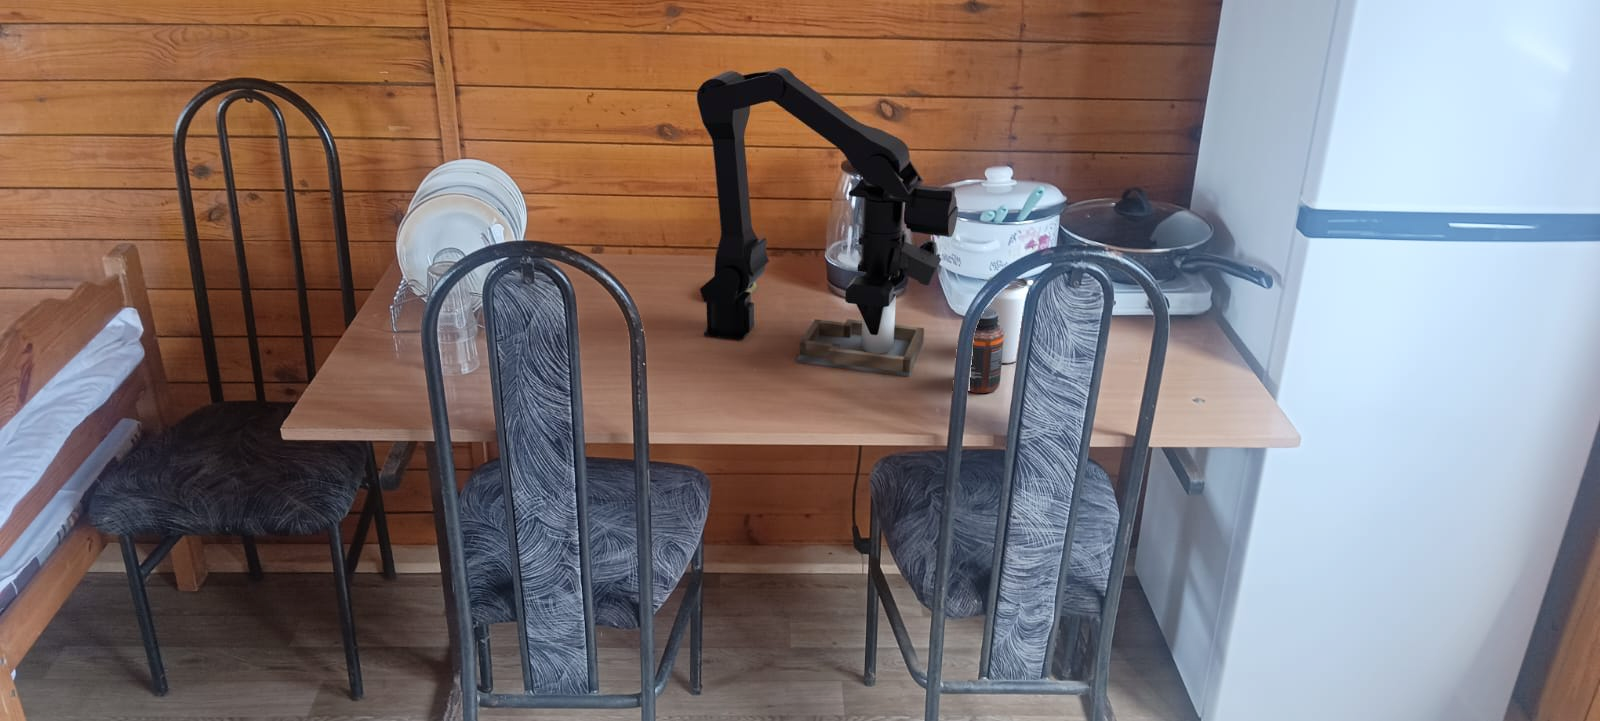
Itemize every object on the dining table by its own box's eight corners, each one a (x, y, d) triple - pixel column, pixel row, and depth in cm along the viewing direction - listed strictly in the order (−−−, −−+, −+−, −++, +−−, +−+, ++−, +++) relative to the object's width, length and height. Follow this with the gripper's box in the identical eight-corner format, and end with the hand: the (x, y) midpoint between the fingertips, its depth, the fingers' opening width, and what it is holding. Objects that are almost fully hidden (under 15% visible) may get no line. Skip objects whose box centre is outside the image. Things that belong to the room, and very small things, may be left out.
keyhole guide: (796, 362, 170) (797, 346, 169) (817, 330, 180) (817, 315, 179) (909, 376, 166) (910, 360, 165) (923, 343, 177) (924, 328, 175)
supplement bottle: (1003, 380, 165) (1010, 307, 161) (995, 397, 160) (1002, 323, 156) (962, 373, 167) (967, 301, 162) (953, 391, 162) (958, 317, 157)
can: (1022, 366, 169) (1030, 291, 164) (977, 362, 171) (984, 287, 166) (1023, 349, 175) (1031, 275, 170) (980, 344, 176) (986, 271, 171)
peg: (858, 350, 171) (859, 300, 167) (865, 338, 175) (867, 289, 171) (889, 354, 170) (892, 304, 166) (896, 341, 174) (898, 292, 170)
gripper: (927, 255, 154) (920, 360, 161) (948, 213, 170) (941, 310, 177) (846, 246, 157) (842, 350, 163) (874, 206, 173) (870, 302, 180)
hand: (877, 327), depth 171 cm, fingers closed on peg, 5 cm apart
